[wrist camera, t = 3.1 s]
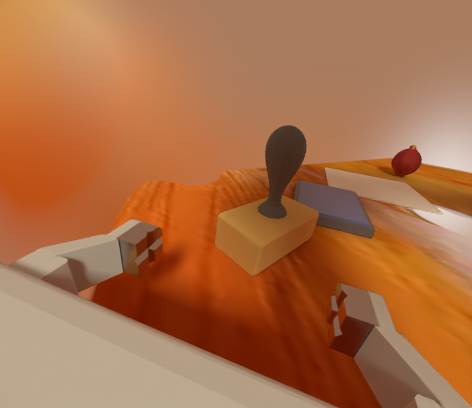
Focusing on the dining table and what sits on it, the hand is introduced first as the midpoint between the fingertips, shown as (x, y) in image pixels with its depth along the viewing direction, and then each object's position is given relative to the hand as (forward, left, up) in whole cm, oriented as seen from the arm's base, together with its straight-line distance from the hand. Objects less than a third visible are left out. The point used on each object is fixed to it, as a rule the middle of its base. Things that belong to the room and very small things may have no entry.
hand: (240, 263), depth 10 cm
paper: (-17, -41, -7) cm, 45 cm away
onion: (-27, -56, -7) cm, 63 cm away
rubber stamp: (0, -12, -7) cm, 14 cm away
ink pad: (-7, -25, -7) cm, 27 cm away
